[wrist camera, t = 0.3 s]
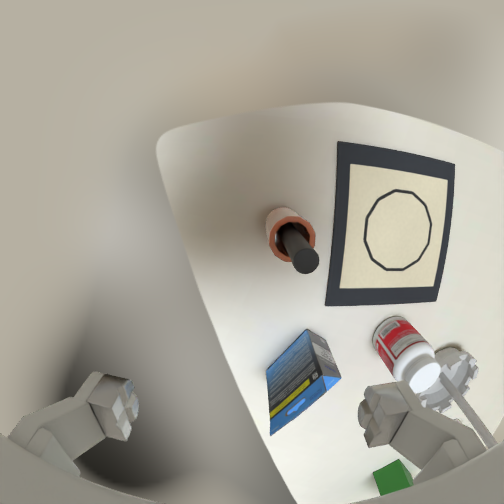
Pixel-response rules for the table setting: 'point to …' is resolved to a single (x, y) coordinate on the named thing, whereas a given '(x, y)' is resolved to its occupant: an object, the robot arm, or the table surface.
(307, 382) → the blue retail box
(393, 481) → the hardback book
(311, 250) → the marker
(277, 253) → the pen cup
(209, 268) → the table surface
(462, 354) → the flag stand
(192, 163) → the table surface
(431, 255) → the desk mat
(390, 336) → the pill bottle
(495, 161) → the table surface
